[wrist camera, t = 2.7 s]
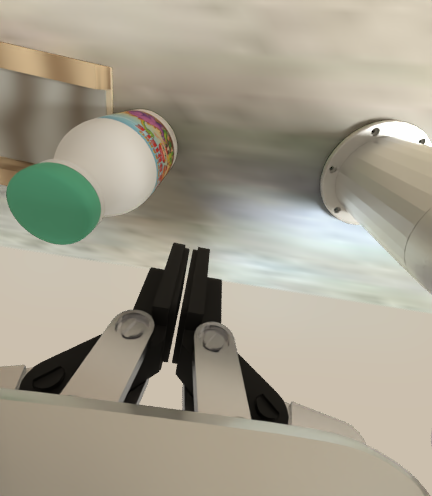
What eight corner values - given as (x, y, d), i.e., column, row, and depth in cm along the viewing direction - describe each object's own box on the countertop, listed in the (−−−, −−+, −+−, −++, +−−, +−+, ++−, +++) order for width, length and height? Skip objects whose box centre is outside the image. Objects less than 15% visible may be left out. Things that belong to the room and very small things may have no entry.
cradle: (112, 67, 27) (95, 64, 23) (114, 192, 34) (101, 204, 31) (-90, 20, 25) (-140, 9, 22) (-42, 161, 33) (-74, 170, 29)
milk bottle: (138, 185, 33) (45, 283, 17) (101, 127, 30) (-64, 174, 13) (189, 161, 32) (145, 243, 15) (157, 95, 28) (49, 103, 11)
